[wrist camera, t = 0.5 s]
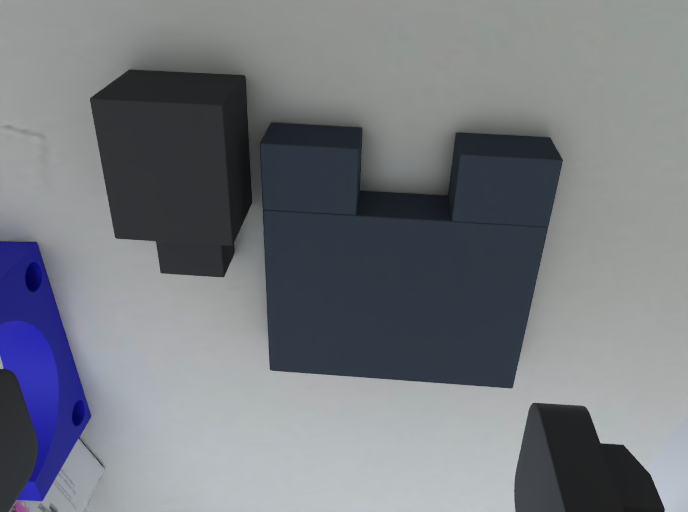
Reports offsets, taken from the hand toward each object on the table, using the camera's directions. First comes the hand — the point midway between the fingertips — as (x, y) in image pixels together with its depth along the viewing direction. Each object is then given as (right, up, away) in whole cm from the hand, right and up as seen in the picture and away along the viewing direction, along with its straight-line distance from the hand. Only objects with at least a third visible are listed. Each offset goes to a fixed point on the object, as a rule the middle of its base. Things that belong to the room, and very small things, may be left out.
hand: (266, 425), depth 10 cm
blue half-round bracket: (-16, -2, +25) cm, 30 cm away
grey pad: (+4, +3, +20) cm, 21 cm away
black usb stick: (-5, +7, +19) cm, 21 cm away
